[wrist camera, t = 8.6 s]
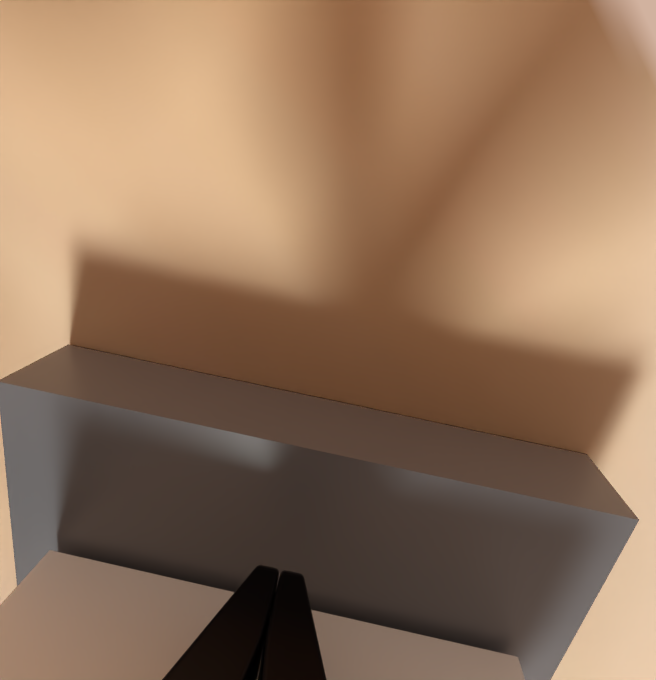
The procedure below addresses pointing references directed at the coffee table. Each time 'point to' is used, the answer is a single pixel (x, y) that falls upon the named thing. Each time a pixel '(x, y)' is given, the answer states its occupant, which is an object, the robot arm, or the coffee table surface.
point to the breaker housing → (309, 501)
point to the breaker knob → (189, 631)
